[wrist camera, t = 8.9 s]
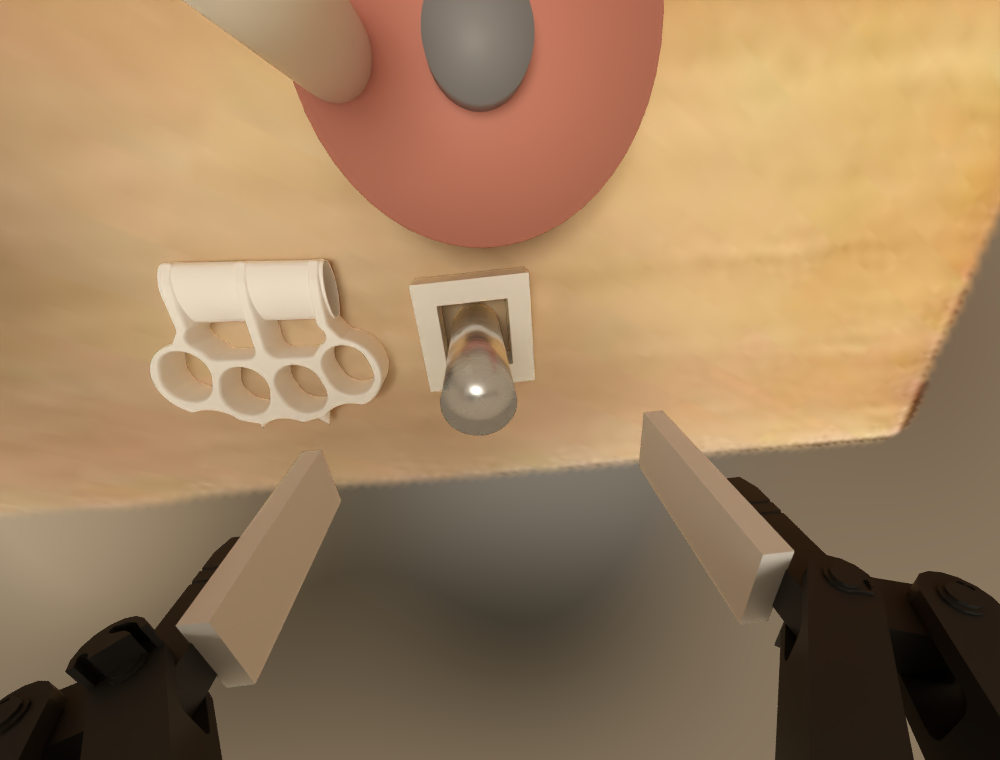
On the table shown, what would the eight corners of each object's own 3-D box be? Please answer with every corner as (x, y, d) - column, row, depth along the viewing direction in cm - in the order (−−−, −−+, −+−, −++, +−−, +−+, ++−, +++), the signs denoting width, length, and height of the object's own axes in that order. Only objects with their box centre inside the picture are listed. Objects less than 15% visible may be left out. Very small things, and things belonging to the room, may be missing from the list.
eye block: (434, 377, 33) (430, 392, 30) (414, 278, 29) (408, 285, 26) (529, 366, 33) (534, 379, 30) (523, 266, 29) (528, 272, 26)
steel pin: (456, 349, 32) (447, 439, 19) (449, 305, 30) (434, 373, 18) (500, 344, 32) (519, 430, 19) (496, 300, 30) (514, 364, 18)
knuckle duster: (373, 255, 28) (398, 412, 35) (136, 261, 27) (207, 421, 34) (361, 261, 25) (391, 431, 32) (94, 267, 24) (181, 442, 31)
